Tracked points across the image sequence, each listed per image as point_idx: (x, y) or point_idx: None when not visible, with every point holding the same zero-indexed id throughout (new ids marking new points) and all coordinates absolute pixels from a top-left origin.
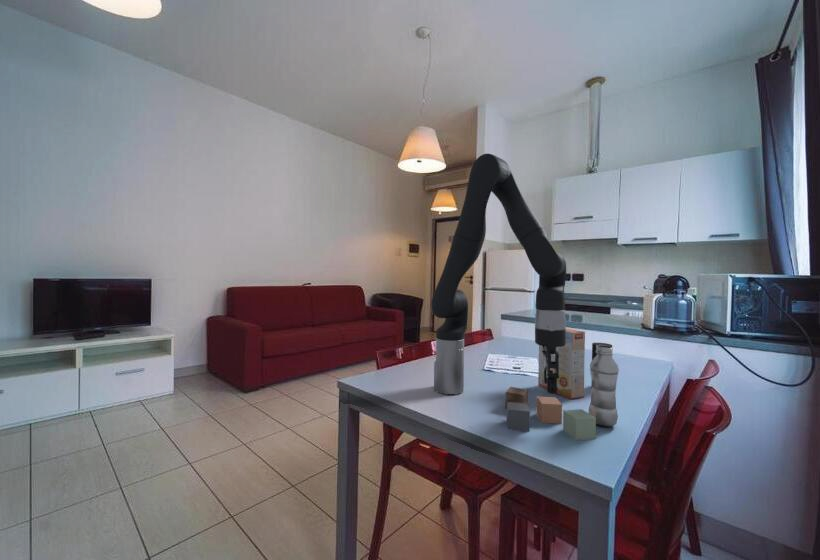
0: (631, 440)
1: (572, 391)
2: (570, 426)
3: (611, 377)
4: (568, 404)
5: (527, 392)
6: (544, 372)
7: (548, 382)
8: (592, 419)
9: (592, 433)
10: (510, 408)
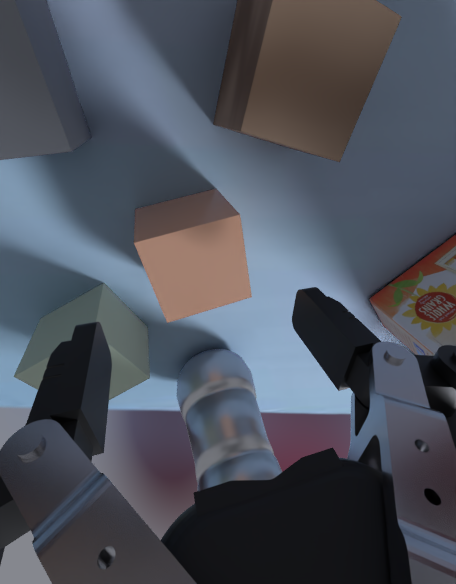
0: (135, 408)
1: (387, 316)
2: (58, 324)
3: None
4: (331, 292)
5: (323, 157)
6: (339, 331)
7: (61, 389)
8: None
9: None
10: None
